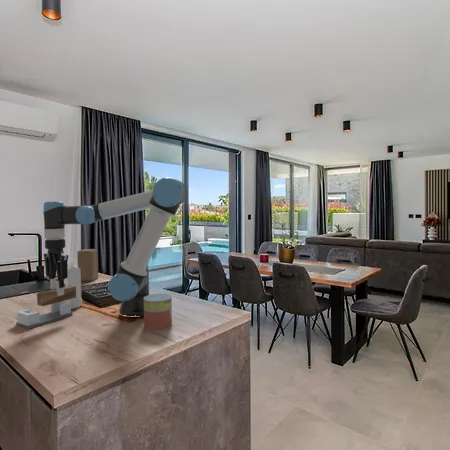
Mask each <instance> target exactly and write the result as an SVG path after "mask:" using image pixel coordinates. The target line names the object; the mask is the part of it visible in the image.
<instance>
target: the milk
mask: <svg viewBox="0 0 450 450" xmlns="http://www.w3.org/2000/svg"><path fill="white" fill-rule="evenodd" d="M70 285H72V286H76V298H73V299H69V300H65V302H69V303H71V310H72V309H77V308H81V307H80V306H81V305H83V304H82V281H81V272H80V268H78V266H76V265H75V263H74V262H73V261H70V264H69V265H68V278H66V279H64V287H66V286H70Z"/></svg>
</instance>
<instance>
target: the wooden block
mask: <svg viewBox="0 0 450 450" xmlns="http://www.w3.org/2000/svg"><path fill="white" fill-rule="evenodd" d="M76 254H77V267H78V268H80V272H81V282H94V281H95V280H97V279H98V278H99V259H98V258H99V256H98V255H99V254H98V249H97V248H95V249H94V248H83V249H81V250H77V253H76Z"/></svg>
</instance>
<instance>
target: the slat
mask: <svg viewBox="0 0 450 450" xmlns="http://www.w3.org/2000/svg"><path fill="white" fill-rule="evenodd" d="M73 298H76V286H72V285H70V286H66V287H65V286H64V295H61V296H57V289H52V290H51V289H48V290H44V291H38V292H36V299H37V302H36V303H37V306H39V307H40V306H41V307H45V306H49V305H50V306H51V304H54V303H57V302H61V301H64V302H66V300H69V299H73Z"/></svg>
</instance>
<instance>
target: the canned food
mask: <svg viewBox="0 0 450 450" xmlns="http://www.w3.org/2000/svg"><path fill="white" fill-rule="evenodd" d="M143 299H144V317H143V329H144V330H145V331H148V332H165V331H166V330H169V329H171V328H172V327H173V317H172V316H173V313H172V310H173V309H172V306H173V305H172V304H173V303H172V302H173V301H172V299H173V296H172V295H171V294H168V293H153V294H149V295H148V296H145V297H144V298H143Z"/></svg>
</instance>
